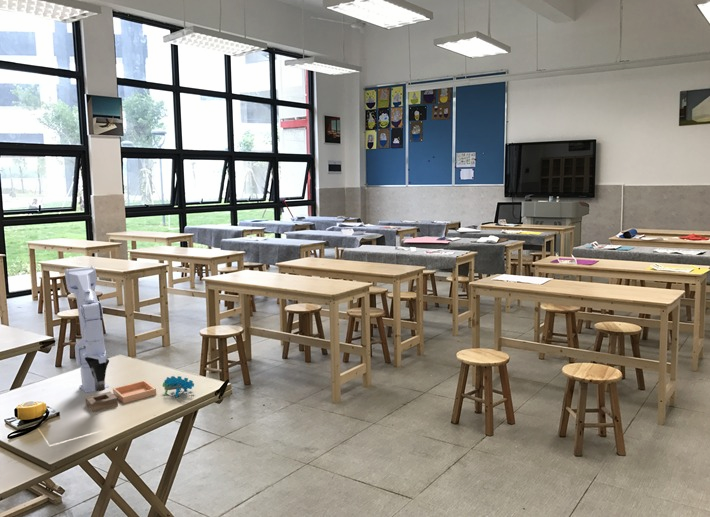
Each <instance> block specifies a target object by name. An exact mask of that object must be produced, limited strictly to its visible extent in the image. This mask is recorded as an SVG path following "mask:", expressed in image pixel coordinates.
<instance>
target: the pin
mask: <svg viewBox="0 0 710 517" xmlns="http://www.w3.org/2000/svg"><path fill="white" fill-rule="evenodd" d="M90 369H91V371H92V372H93V374H94V383H95V392H102V391H105V390H106V388H105V383H106V382H105V383H104V381H100V382H98V381H97V379H96V375H95V372H94V369H93V367H91V368H90Z"/></svg>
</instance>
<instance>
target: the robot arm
mask: <svg viewBox="0 0 710 517" xmlns="http://www.w3.org/2000/svg"><path fill="white" fill-rule="evenodd" d="M64 276H65V283H66V290H68V291H67V292H68V293H70V294H73V295H74V297H75V299H76V305H77V310H78V311H77V313H78V319H79V327H80V333H81V339H80V340H78V342H76V343H75V345H74V352H75V353H74V354H75V361H76V365H77V366H78V367H80V378H81V384H79V388H80V389H81V390H82V391H84V392H85V393H90V392H94V391H95V383H94V374H93V372H92V371H91V369H90V368H91V367H93V369H94V372H95V375H96V379H97V381H98V382H100V381H104V383H105V389H107V388H110V386H109V385H108V384H107V383H106V373H107V367H108V366H109V365H108V364H109V362H110V359H108V358H107V349H106V346H105V338H104V328H103V319H104V312H103V305H102V303H101V302H100V300H98V296H97V293H96V292H95V291H94V290H95V289H96V287H97V280H98V279H97V272H96V268H95V267H94V266H93V265H91V266H85V267H75V268H66V269H65V270H64ZM95 392H96V391H95Z"/></svg>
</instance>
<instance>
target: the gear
mask: <svg viewBox="0 0 710 517" xmlns="http://www.w3.org/2000/svg"><path fill="white" fill-rule="evenodd" d="M194 386H195V383H194V381H193V380H189V378H187V377H184V378H182V376H179V375H178V376H177V377H175V375H172V376H170V377H169V376H167V377H166V378H165V379H164V381H163V382H162V387H163V388H164V396H166V395H168V391H172V390H173V391H174V390H175V394H174V397H175V398H178V397H179V394H180V391H181V390H182V389H183V391H188V389H189V390H192V388H193V387H194Z"/></svg>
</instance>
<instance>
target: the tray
mask: <svg viewBox="0 0 710 517" xmlns="http://www.w3.org/2000/svg"><path fill="white" fill-rule="evenodd" d="M112 394H113V395H115V396H116V397H117V400H119V401H121V403H123V404H126V403H130V402H133V401H136V400H140V399H144V398H148V397H151V396H155V395H157V389H156V387H154V386H153V385H152V384H150V383H149V382H148V381H146V380H140V381H137V382H133V383H130V384H126V385H125V384H124V385H122V386H121V385H120V386H117V387H113V388H112Z"/></svg>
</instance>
